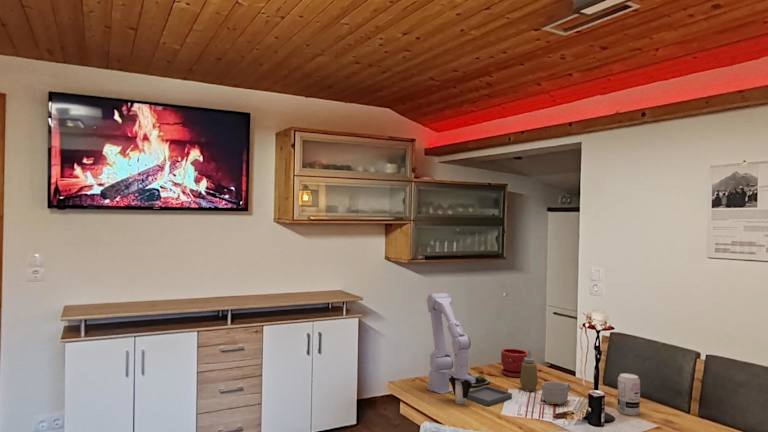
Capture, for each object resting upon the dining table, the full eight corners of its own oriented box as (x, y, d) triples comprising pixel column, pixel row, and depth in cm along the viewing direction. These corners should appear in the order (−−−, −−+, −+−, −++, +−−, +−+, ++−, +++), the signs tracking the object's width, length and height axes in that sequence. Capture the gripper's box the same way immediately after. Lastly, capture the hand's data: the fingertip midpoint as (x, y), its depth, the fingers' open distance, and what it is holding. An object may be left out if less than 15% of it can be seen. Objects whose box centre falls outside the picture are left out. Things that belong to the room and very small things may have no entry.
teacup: (550, 408, 223) (550, 388, 223) (536, 399, 233) (536, 381, 233) (579, 405, 226) (579, 386, 226) (564, 397, 237) (564, 379, 237)
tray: (463, 398, 234) (463, 392, 234) (486, 390, 244) (486, 385, 244) (488, 406, 223) (488, 400, 223) (511, 398, 233) (511, 393, 233)
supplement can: (620, 407, 224) (621, 371, 224) (642, 412, 219) (642, 375, 219) (615, 412, 218) (615, 375, 218) (636, 417, 213) (637, 379, 213)
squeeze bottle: (536, 387, 250) (536, 348, 250) (539, 392, 242) (539, 353, 242) (518, 386, 251) (518, 348, 251) (521, 392, 243) (521, 352, 243)
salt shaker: (452, 401, 228) (453, 380, 228) (460, 399, 231) (460, 378, 232) (461, 404, 225) (461, 383, 225) (468, 402, 228) (468, 380, 228)
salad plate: (439, 380, 260) (439, 371, 260) (464, 374, 271) (464, 365, 271) (469, 391, 245) (469, 381, 245) (494, 384, 256) (494, 374, 256)
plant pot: (523, 379, 262) (523, 355, 262) (497, 375, 269) (497, 351, 269) (530, 373, 273) (531, 350, 273) (505, 369, 280) (506, 346, 280)
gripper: (442, 362, 231) (441, 393, 231) (467, 369, 220) (467, 402, 220) (453, 359, 236) (452, 390, 236) (478, 366, 225) (478, 399, 225)
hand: (460, 396), depth 228 cm, fingers closed on salt shaker, 5 cm apart
